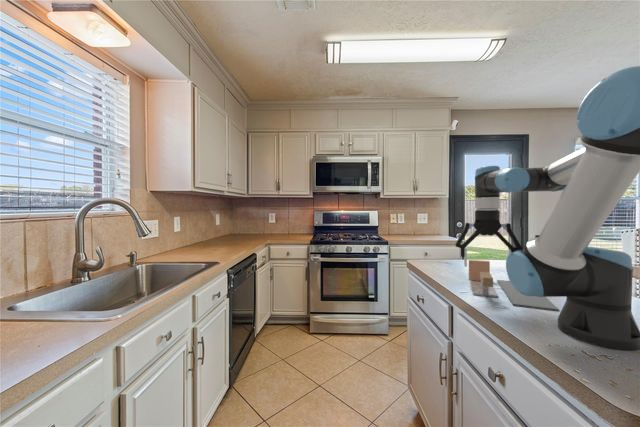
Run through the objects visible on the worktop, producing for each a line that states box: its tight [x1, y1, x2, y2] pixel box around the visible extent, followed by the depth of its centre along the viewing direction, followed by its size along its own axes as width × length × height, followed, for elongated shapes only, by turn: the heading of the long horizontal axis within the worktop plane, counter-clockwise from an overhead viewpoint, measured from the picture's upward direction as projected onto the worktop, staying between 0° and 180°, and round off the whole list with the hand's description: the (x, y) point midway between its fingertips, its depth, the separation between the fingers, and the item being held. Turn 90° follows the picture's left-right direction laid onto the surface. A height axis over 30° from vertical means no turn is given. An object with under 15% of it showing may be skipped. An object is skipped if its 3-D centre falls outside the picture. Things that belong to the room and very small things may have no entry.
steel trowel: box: [469, 272, 499, 299], centre depth 101 cm, size 23×8×9 cm, turn 154°
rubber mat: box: [496, 279, 560, 312], centre depth 99 cm, size 30×12×1 cm, turn 154°
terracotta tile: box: [468, 259, 491, 282], centre depth 117 cm, size 2×8×9 cm, turn 64°
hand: (486, 267), depth 94 cm, fingers open, 13 cm apart
